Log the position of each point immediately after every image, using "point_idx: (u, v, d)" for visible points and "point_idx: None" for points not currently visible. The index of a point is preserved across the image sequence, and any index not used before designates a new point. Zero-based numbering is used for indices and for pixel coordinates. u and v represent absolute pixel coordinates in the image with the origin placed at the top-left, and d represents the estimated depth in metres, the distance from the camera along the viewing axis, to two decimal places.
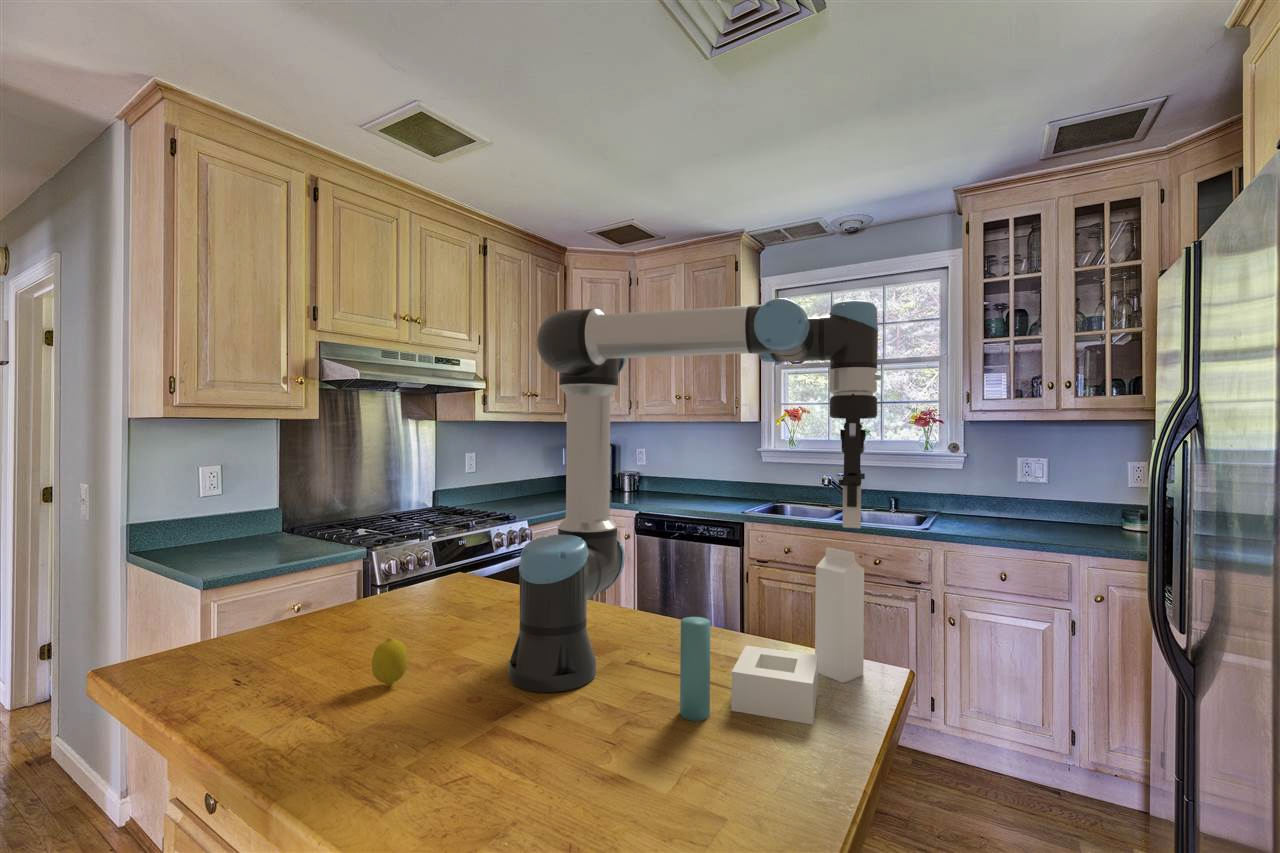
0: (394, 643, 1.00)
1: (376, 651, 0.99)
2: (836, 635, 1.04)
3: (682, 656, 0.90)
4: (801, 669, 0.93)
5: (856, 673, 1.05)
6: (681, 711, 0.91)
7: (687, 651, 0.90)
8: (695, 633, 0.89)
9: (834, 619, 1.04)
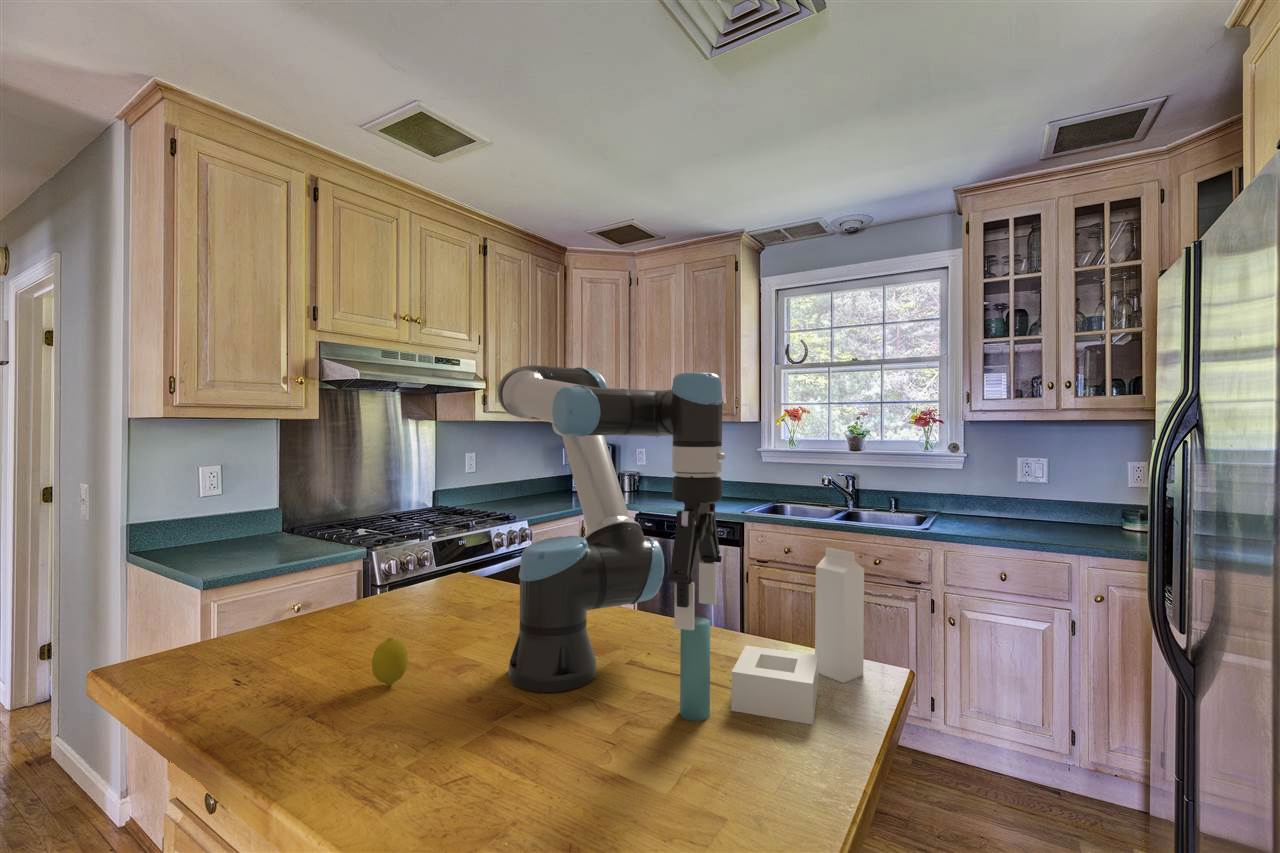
0: (394, 643, 1.00)
1: (376, 651, 0.99)
2: (836, 635, 1.04)
3: (682, 656, 0.90)
4: (801, 669, 0.93)
5: (856, 673, 1.05)
6: (681, 711, 0.91)
7: (687, 651, 0.90)
8: (695, 633, 0.89)
9: (834, 619, 1.04)
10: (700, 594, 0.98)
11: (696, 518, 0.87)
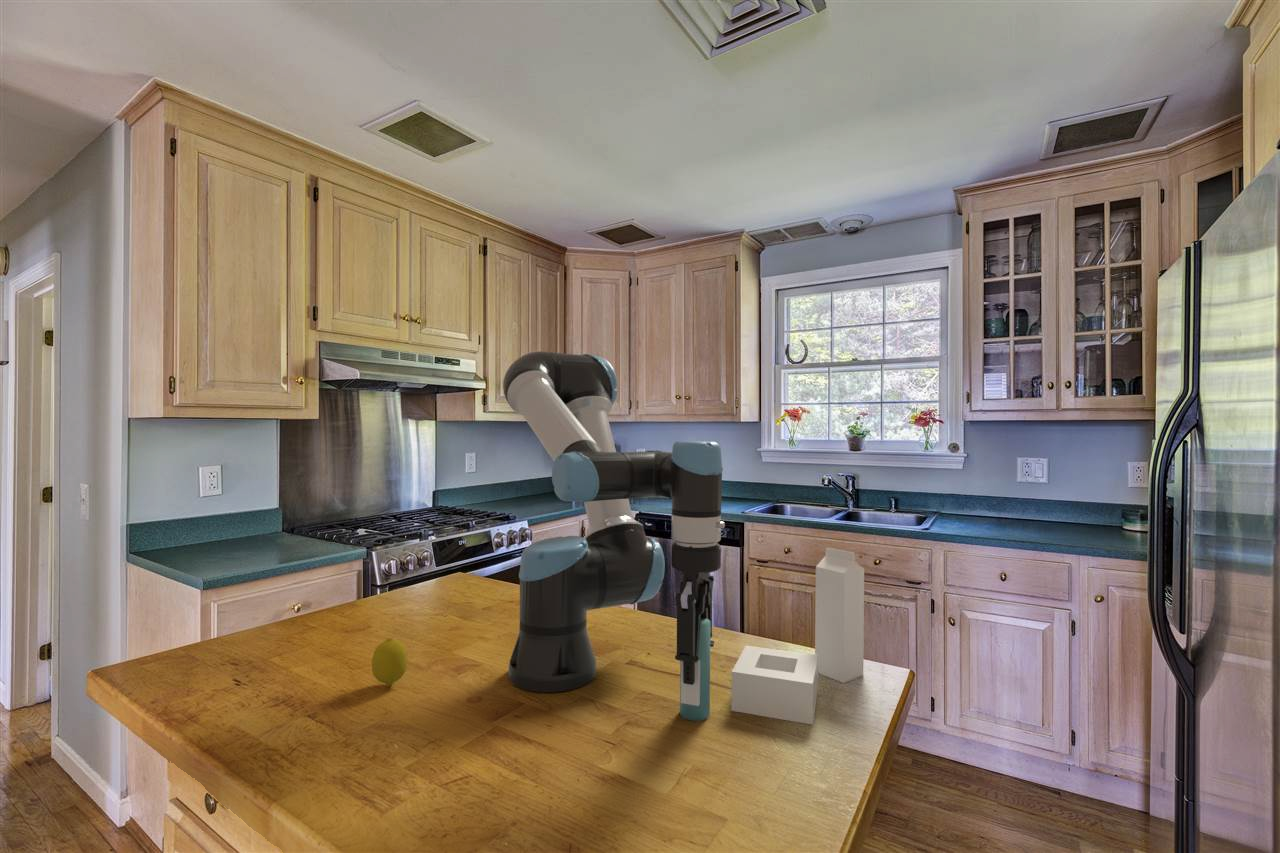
0: (394, 643, 1.00)
1: (376, 651, 0.99)
2: (836, 635, 1.04)
3: None
4: (801, 669, 0.93)
5: (856, 673, 1.05)
6: (681, 711, 0.91)
7: None
8: None
9: (834, 619, 1.04)
10: None
11: (695, 591, 0.88)
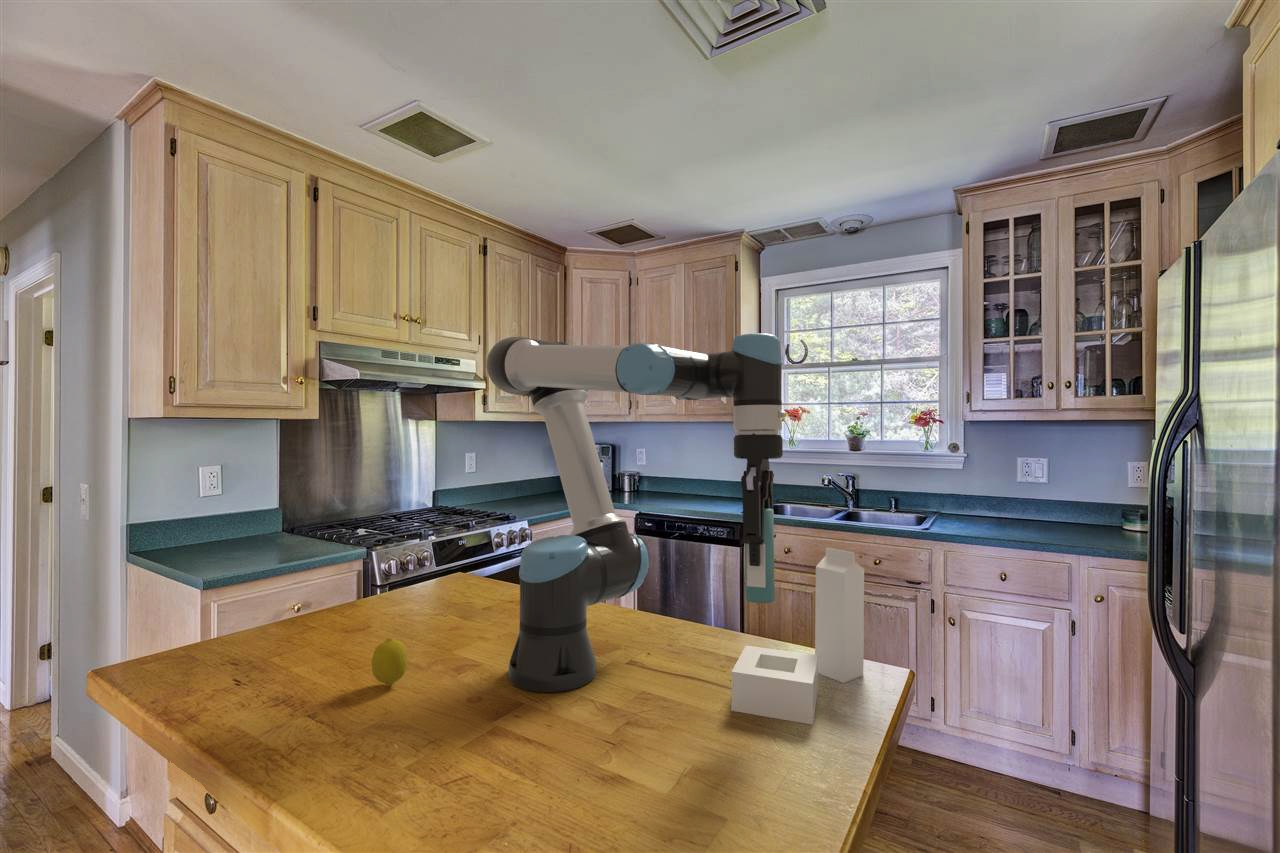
0: (394, 643, 1.00)
1: (376, 651, 0.99)
2: (836, 635, 1.04)
3: None
4: (801, 669, 0.93)
5: (856, 673, 1.05)
6: (747, 596, 0.93)
7: None
8: None
9: (834, 619, 1.04)
10: None
11: (759, 475, 0.91)
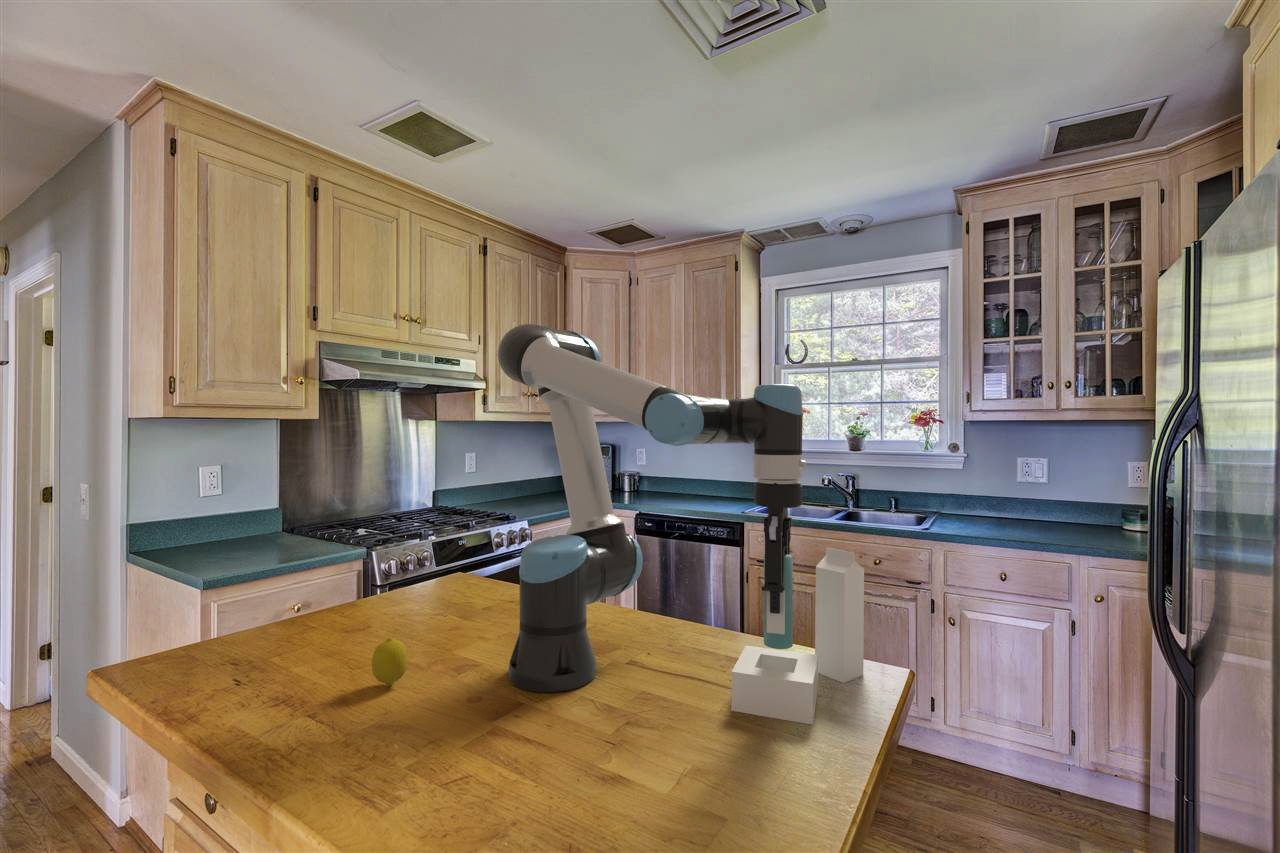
0: (394, 643, 1.00)
1: (376, 651, 0.99)
2: (836, 635, 1.04)
3: None
4: (801, 669, 0.93)
5: (856, 673, 1.05)
6: (766, 641, 0.95)
7: None
8: None
9: (834, 619, 1.04)
10: None
11: (781, 525, 0.92)
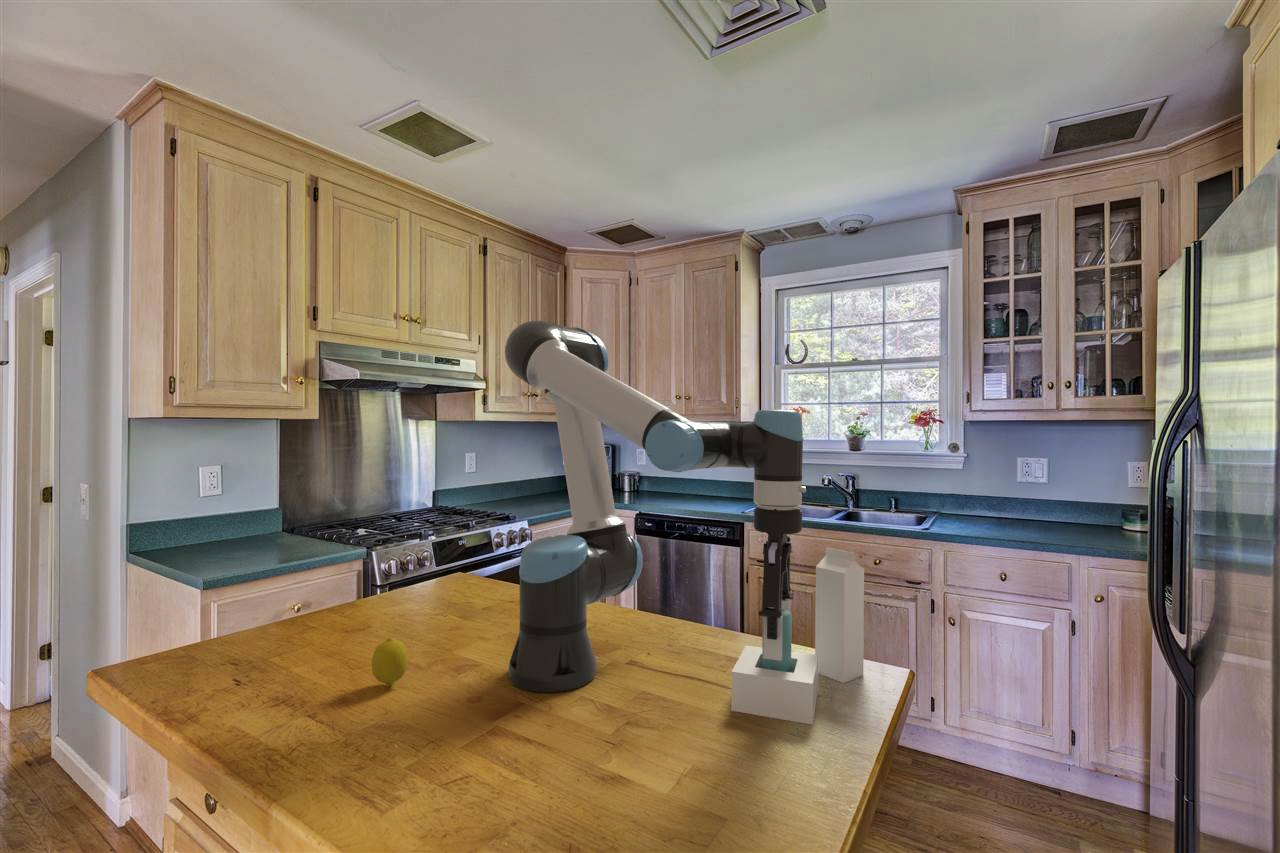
0: (394, 643, 1.00)
1: (376, 651, 0.99)
2: (836, 635, 1.04)
3: None
4: (801, 669, 0.93)
5: (856, 673, 1.05)
6: None
7: None
8: None
9: (834, 619, 1.04)
10: None
11: (780, 550, 0.92)
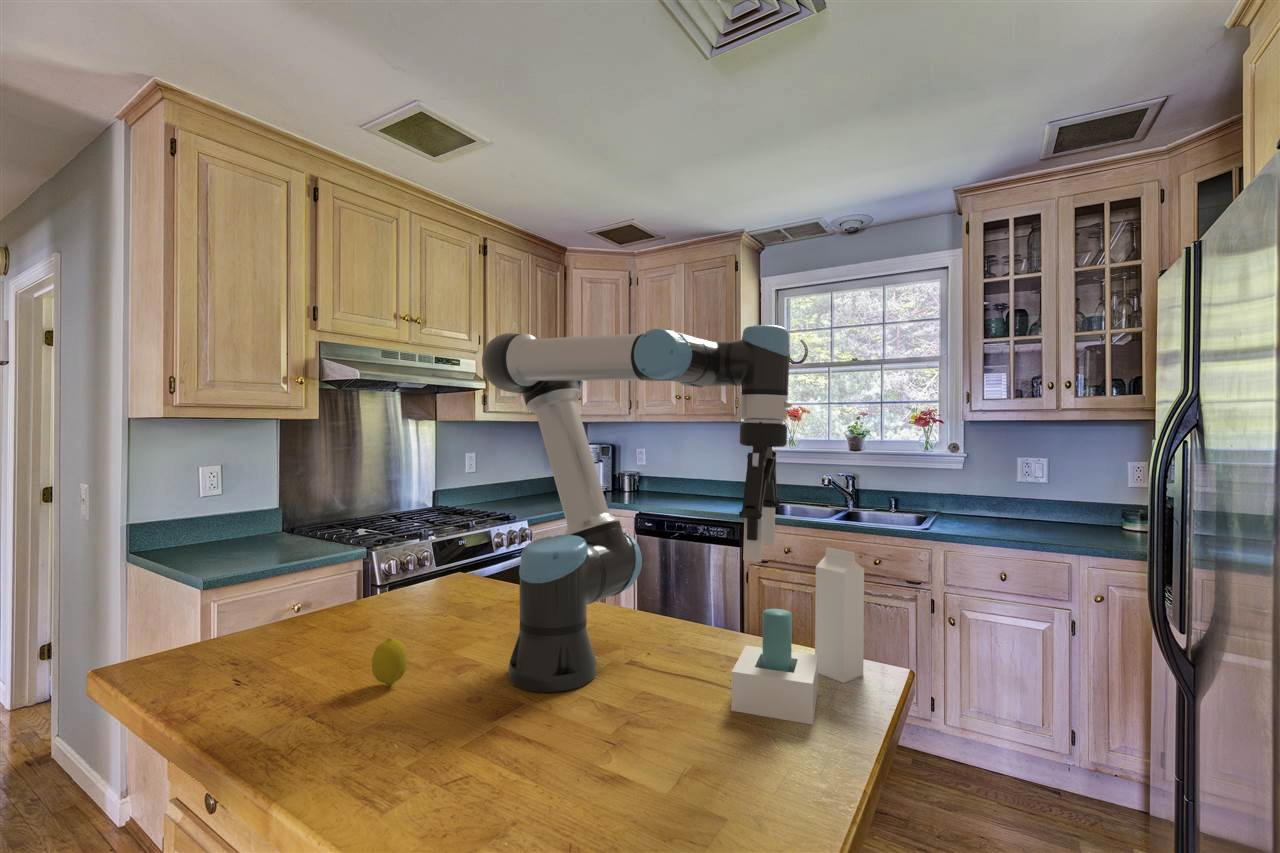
0: (394, 643, 1.00)
1: (376, 651, 0.99)
2: (836, 635, 1.04)
3: (765, 646, 0.95)
4: (801, 669, 0.93)
5: (856, 673, 1.05)
6: None
7: (771, 641, 0.94)
8: (779, 624, 0.94)
9: (834, 619, 1.04)
10: None
11: (764, 460, 0.94)
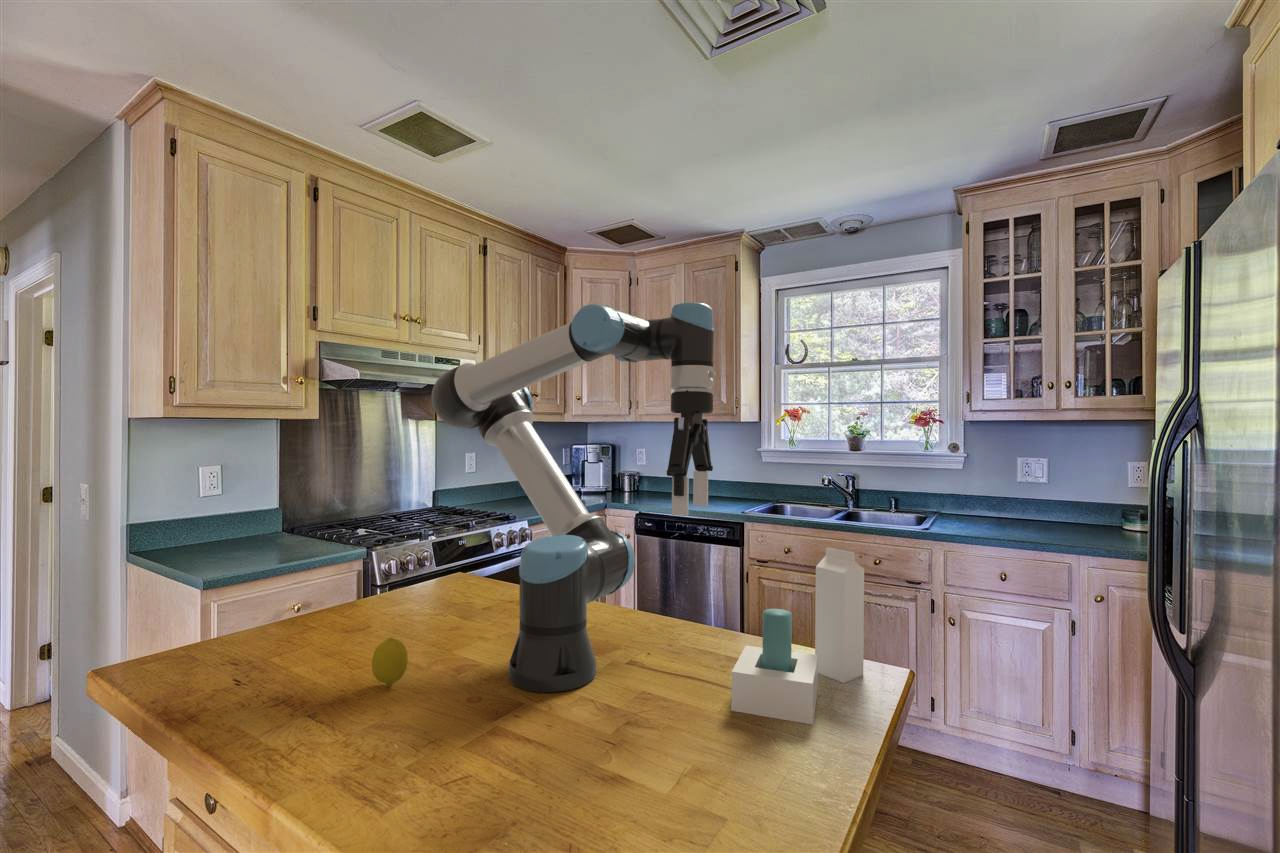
0: (394, 643, 1.00)
1: (376, 651, 0.99)
2: (836, 635, 1.04)
3: (765, 646, 0.95)
4: (801, 669, 0.93)
5: (856, 673, 1.05)
6: None
7: (771, 641, 0.94)
8: (779, 624, 0.94)
9: (834, 619, 1.04)
10: (694, 498, 1.14)
11: (690, 425, 1.03)
